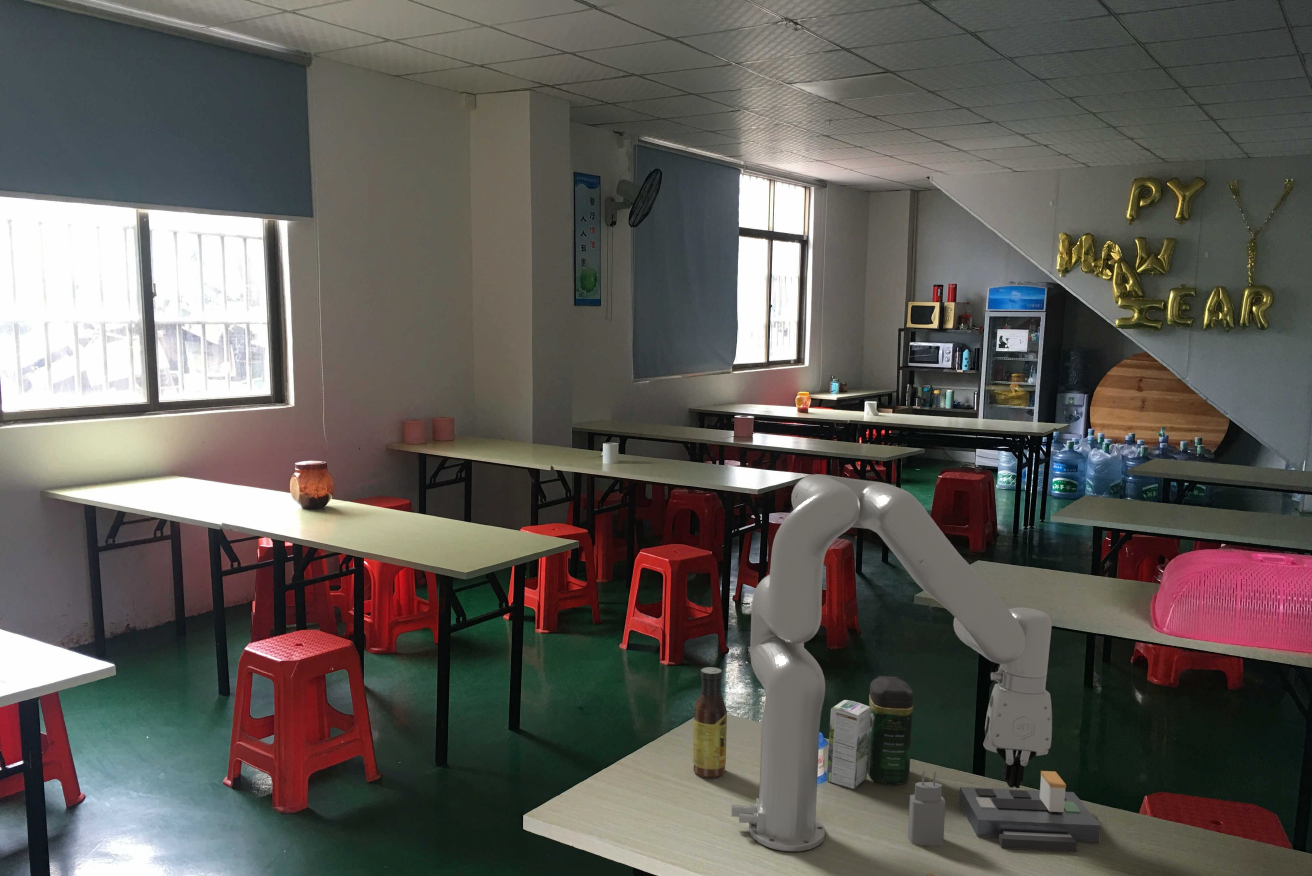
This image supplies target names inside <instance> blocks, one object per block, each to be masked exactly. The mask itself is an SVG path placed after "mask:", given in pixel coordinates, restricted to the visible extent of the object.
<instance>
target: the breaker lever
mask: <svg viewBox="0 0 1312 876" xmlns="http://www.w3.org/2000/svg"><path fill="white" fill-rule="evenodd" d="M1039 784H1040V785H1039V786H1040V787H1039V791H1040V799H1041V801H1042V802H1043V803H1044V805H1045V806H1046V808H1047V809H1048V810H1049V812H1064V802H1065V792H1066V788H1067V784H1066V783H1065V781H1064V780H1063V779H1062V778H1061V776H1060V775H1059V774H1058V773H1057V771H1055V770H1054V771H1050V770H1049V771H1048V770H1040V783H1039Z"/></svg>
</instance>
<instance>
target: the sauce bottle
mask: <svg viewBox="0 0 1312 876" xmlns="http://www.w3.org/2000/svg"><path fill="white" fill-rule="evenodd" d="M700 679H701V683H700V684H701V686H700V695H699V696H698V698H697V700H696V702H695V704H694V718H693V743H692V744H693V748H692V749H693V751H692V752H693V753H692V756H693V757H692V764H693V768H692V769H693V772H694V773H695V775H698V776H700V777H702V778H709V779H710V778H718V777H720V776H722V775H723V774H724V773H725V769H726V761H727V733H728V732H727V729H728V728H727V722H728V721H727V720H728V709H727V708H726V703H725V701H724V697H723V694H722V679H723V670H722V669H720V668H718V667H715V666H714V667H712V666H708V667H703V668H702V669H700Z"/></svg>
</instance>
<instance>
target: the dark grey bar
mask: <svg viewBox="0 0 1312 876" xmlns="http://www.w3.org/2000/svg"><path fill="white" fill-rule="evenodd" d="M1077 843H1078V842H1076V841H1075V839H1074V838H1073V837H1071V835H1067V834H1046V833H1026V832H1005V831H1003V834H999V838H998V844H999V846H1000V848H1001V849H1013V850H1015V849H1016V850H1032V851H1033V850H1034V851H1049V852H1051V851H1053V852H1058V851H1059V852H1073V853H1074V852H1075V853H1076V852H1077Z"/></svg>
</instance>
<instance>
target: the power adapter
mask: <svg viewBox="0 0 1312 876" xmlns="http://www.w3.org/2000/svg"><path fill="white" fill-rule="evenodd" d="M932 778H933V779H932V781H928V782H927V781H925V770H922V779H921V780H922V781H919V782H916V783H915V784H914V794H910V795H909V809H908V828H907V839H908V840H909V842H910V844H912V845H915V846H943V845H944V840H945V839H944V837H945V824H946V823H945V820H946V802H947V801H946V800H945V798H944V797H943V796H942V786H943V785H942V784H940V783H938V782H936V771H935V770H934V771H933V777H932Z"/></svg>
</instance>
